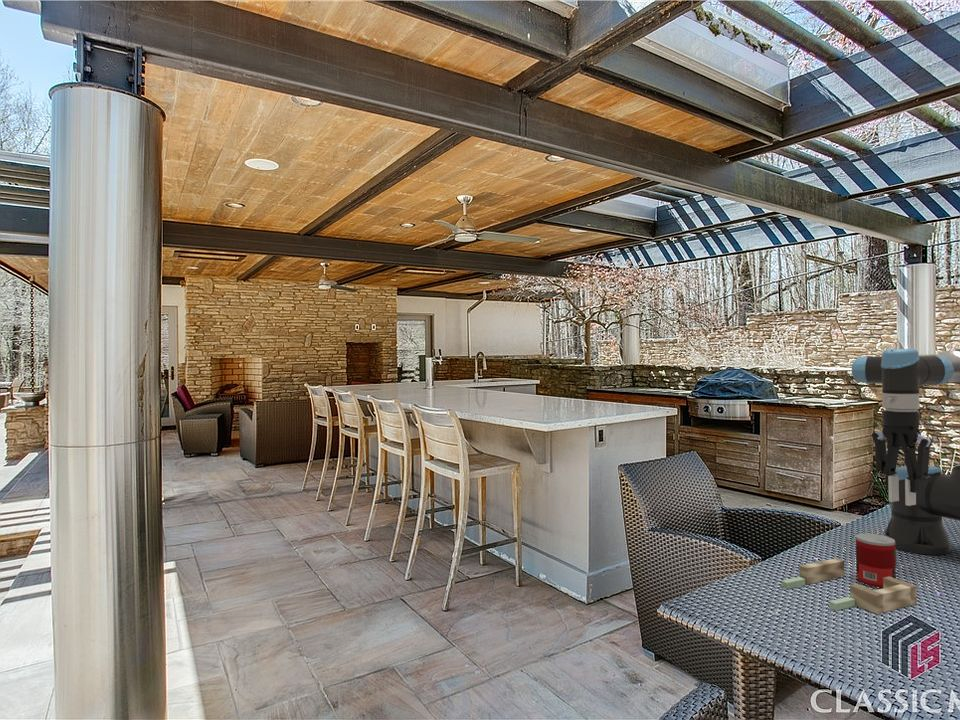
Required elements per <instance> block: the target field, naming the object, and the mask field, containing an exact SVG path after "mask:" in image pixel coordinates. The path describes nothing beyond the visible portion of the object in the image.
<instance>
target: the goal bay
mask: <svg viewBox="0 0 960 720" xmlns="http://www.w3.org/2000/svg"><path fill="white" fill-rule="evenodd" d="M803 586H806V584H805V579H804V578H801V577H800V576H797V577H792V578H788V579H784V580H781V588H783V589H786V590H790V589H793V588H794V589H795V588H798V587H803ZM828 603H829V609H831V610H833V611H836V612H837V611H840V610H844V609H848V608H853V607H856V605H855V599H853V598H850V596H846V597H842V598H837V599H833V600H832V599H831V600H829V602H828Z"/></svg>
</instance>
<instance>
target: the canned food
mask: <svg viewBox="0 0 960 720" xmlns="http://www.w3.org/2000/svg"><path fill="white" fill-rule="evenodd" d="M896 551H897V548H896V546H895V540H894V539H892V538H890V537H887V536H884V535H882V534H878V533H877V534H876V533H869V532H868V533H866V532H865V533H858V534H856V535H855V560H856V563H855V564H856V565H855V567H856V571H855V572H856V578H857V581H858V580H859V582H860V583H861V582H862V583H861V584H863V583H864V584H863V585H865V584H867V585H866V586H868V585H869V586H868V587H871V586H874V587H873V588H876V587H879V588H878V589H883V578H885V577H892V578H895V579H897V557H896V556H897V552H896Z"/></svg>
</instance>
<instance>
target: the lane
mask: <svg viewBox="0 0 960 720" xmlns="http://www.w3.org/2000/svg"><path fill="white" fill-rule="evenodd" d="M798 567H799V568H798V569H799V577H801V578H804V579H805V586H809V585H811V584H812V583H813V584H817V583H816V582H818V583H821V582H820V581H822V582H826V581H825V580H827V581H830V580H829V579H832V580H834V579H833V578H836V579H838V578H837V577H841V576H845V560H843V559H841V558H840V559H839V558H836V557H835V558H832V559H827V560H822V561H817V562H813V563H812V562H811V563H806V564H802V565H799V566H798ZM841 578H842V577H841ZM808 584H809V585H808ZM917 588H918V587H917V585H914V584H912V583H909V582H907V581H904V580H901V579H898V578H896V579H895V578H892V577H885V578H883V588H878V589H875V590H873V589H870V588H867V587H865V586H862V585H859V584H858V583H854V584H851V585H849V597H850V598H853V599H855V607H860V608H861V609H864V610H866V611H868V612H871V613H874V614H876V615H879V614H883V613H887V612H890V611H895V610H897V609H902V608H906V607H910V606H914V605H918V597H917V595H918V594H917V593H918V589H917Z"/></svg>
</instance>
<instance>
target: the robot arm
mask: <svg viewBox="0 0 960 720" xmlns="http://www.w3.org/2000/svg"><path fill="white" fill-rule="evenodd" d="M851 375H852V378H853V379H854V380H855V381H857V382H858V383H861V384H862V383H863V384H881V386H882V387H881V388H882V389H881V390H882V393H881V397H882V399H881V402H882V408H883V409H884V410H883V411H882V413H881V415H882V419H881V420H882V424H883V428H882V430H881V431H878V432H873V433H872V434H871V438H872V440H873V442H874V449H875V461H876V463H875V464H876V470H877V471H878V472H881V473H883V474H884V475H885V487H886V488H888V502H890V509H891V514H890V515H891V516H890V519H889V521H888V524H887V526H886V529H885V532H884V535H883V536H887V537H890V538H892V539H894V540H895V546H896V550H901V551H904V552H909V553H915V554H920V555H930V556H931V555H933V556H938V555H939V556H941V555H947V554H948V555H949V554H950V553H951V550H952V549H951V541H950V540H949V537H948V535H947V532H946V529H945V527H944V525H943V518H946V519H950V520H954V521H959V522H960V464H955V465H953V468H952V470H951V472H950V474H942V473H943V471H942V469H941V467H938V466H931V465H930V452H931V451H930V448H931V447H932V445H933V442H934V440H933V438H927V437H925V436H923V435H922V432H920V428H919V427H920V426H921V422H920V418H921V415H920V412H919V411H918V410H919V409H920V386H938V385H944V384H946V383H960V349H954V350H953V349H952V350H951V349H950V350H944V351H942V352H940V353H936V354H935V353H934V354H933V353H932V354H929V353H928V354H919V351H918V350H917V349H916V348H899V349H898V348H894V349H893V348H891V349H888V348H887V349H884V350H883V351H882V354H881V355H879V356H875V355H874V356H871V355H868V356H859V357H857V358H855V359H854V360H853V362H852V363H851ZM886 441H887V443H886ZM916 443H917V445H918V446H916ZM900 450H901V451H902V452H903V456H904V461H905V466H897V463H898V457H899V452H900ZM916 451H917V454H916Z"/></svg>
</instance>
